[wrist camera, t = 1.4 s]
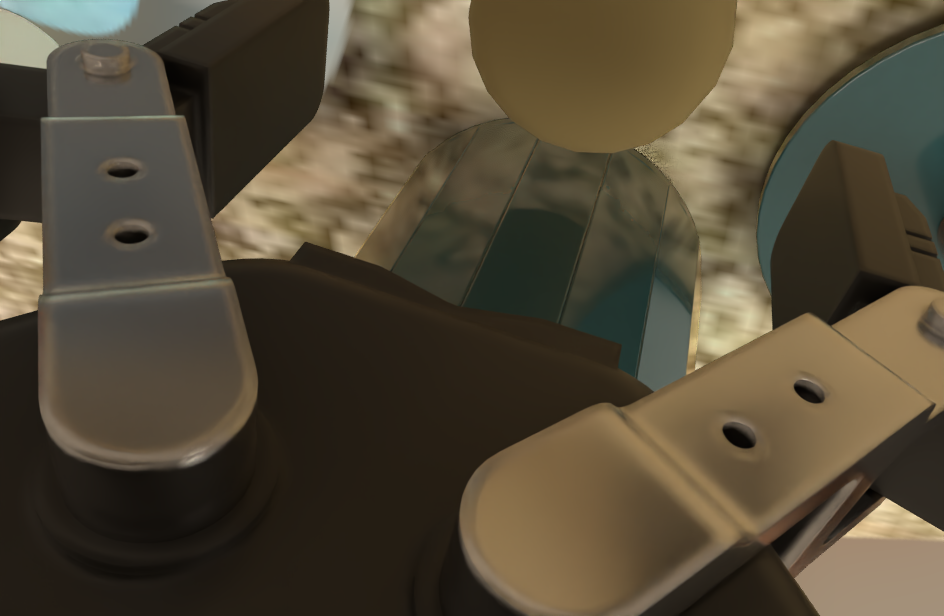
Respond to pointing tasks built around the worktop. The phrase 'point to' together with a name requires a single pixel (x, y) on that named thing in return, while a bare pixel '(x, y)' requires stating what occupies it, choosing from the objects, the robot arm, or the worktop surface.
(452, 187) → the canister
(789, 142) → the lid
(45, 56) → the cylindrical container
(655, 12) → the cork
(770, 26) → the worktop surface
